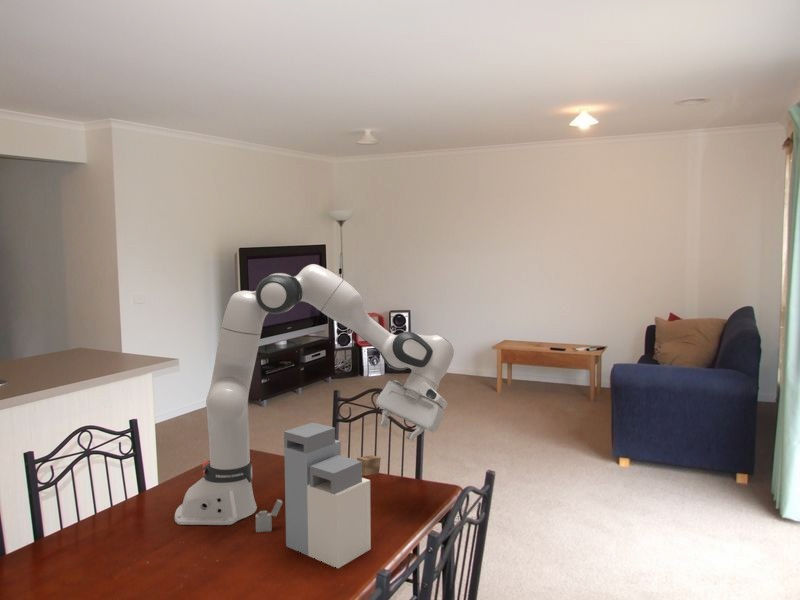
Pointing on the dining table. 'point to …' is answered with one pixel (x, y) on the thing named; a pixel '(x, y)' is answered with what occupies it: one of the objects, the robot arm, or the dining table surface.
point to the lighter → (267, 518)
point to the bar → (370, 464)
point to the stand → (324, 497)
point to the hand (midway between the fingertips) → (395, 433)
